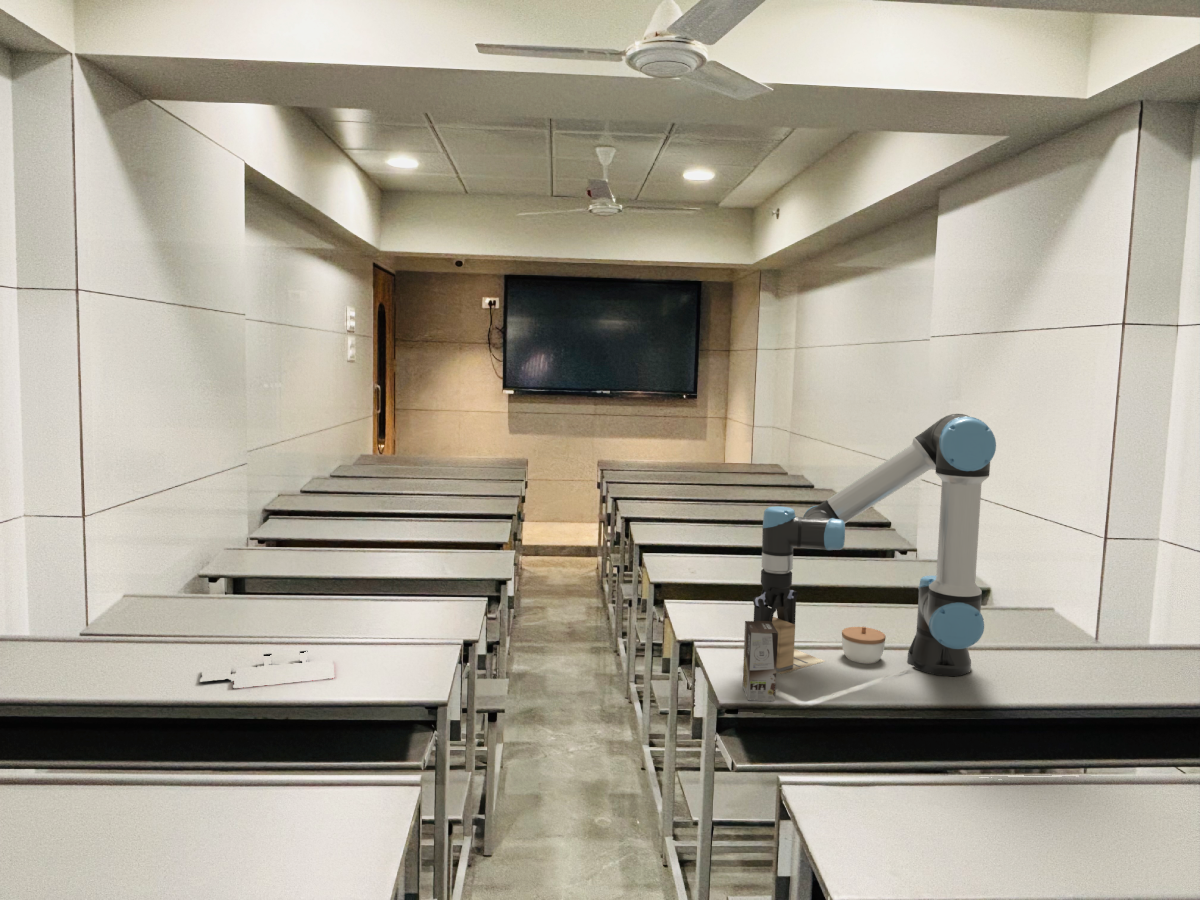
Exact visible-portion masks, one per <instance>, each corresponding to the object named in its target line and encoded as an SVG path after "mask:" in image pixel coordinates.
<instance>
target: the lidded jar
mask: <svg viewBox="0 0 1200 900" xmlns="http://www.w3.org/2000/svg"><path fill="white" fill-rule="evenodd" d="M886 639H887V637H886V634H885V632H882V631H880V630H878V629H875V628H872V627H866V626H850V627H846V628H844V629H842V630H841V647H842V651H843V653H844V656H845V657H846V658H847V660H849V661H851V662H854V663H859V664H875V663H877V662H879V660H881V658H882V656H883V654H884V651H885V644H886Z"/></svg>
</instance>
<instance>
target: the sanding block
mask: <svg viewBox="0 0 1200 900" xmlns="http://www.w3.org/2000/svg"><path fill="white" fill-rule="evenodd" d="M772 624H773V625H774V627H775V629H776V630H777V632H778V647H777V665H776V671H778V672H780V671H783V670H787V669H790V668H793V661H794V649H795V640H796V639H795V637H796V623H795V624H792V623H789V622H787V621H783V620H781V619H778V617H777V616H776V617H775V616H773V619H772Z"/></svg>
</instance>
